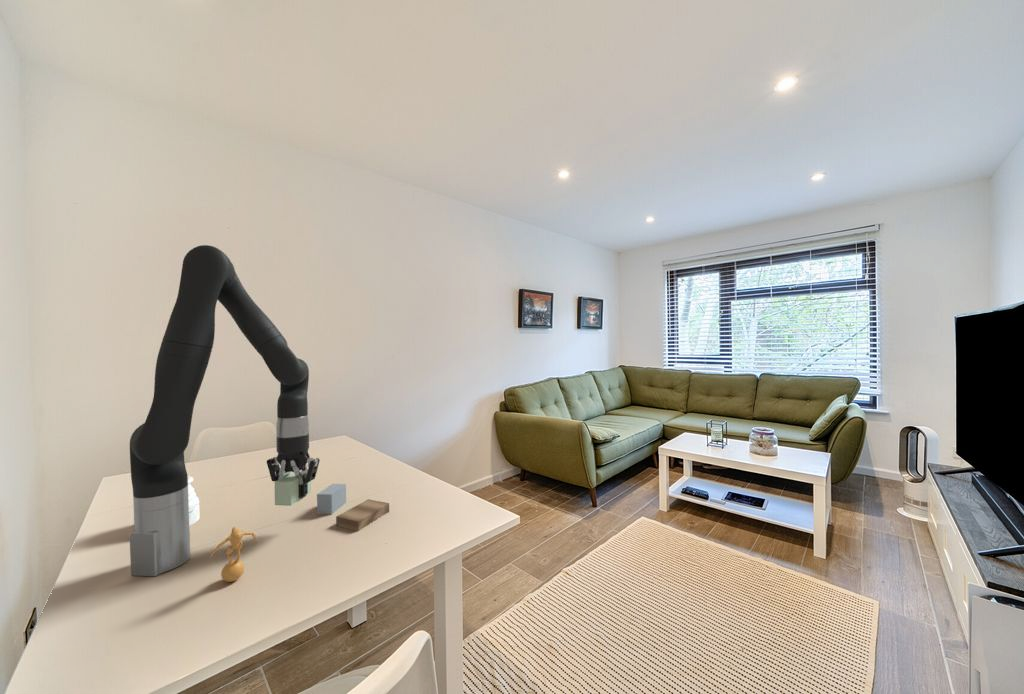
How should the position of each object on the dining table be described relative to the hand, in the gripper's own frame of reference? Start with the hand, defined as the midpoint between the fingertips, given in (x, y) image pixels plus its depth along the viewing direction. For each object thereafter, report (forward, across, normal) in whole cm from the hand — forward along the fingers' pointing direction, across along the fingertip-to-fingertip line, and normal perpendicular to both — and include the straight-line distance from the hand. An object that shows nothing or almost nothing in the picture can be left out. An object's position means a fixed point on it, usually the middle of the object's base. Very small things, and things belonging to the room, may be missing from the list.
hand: (293, 496), depth 100 cm
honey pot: (+10, -39, +2) cm, 40 cm away
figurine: (+10, +1, -20) cm, 23 cm away
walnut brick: (+10, +15, +9) cm, 20 cm away
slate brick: (+10, +2, +15) cm, 18 cm away
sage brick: (+1, 0, 0) cm, 1 cm away
